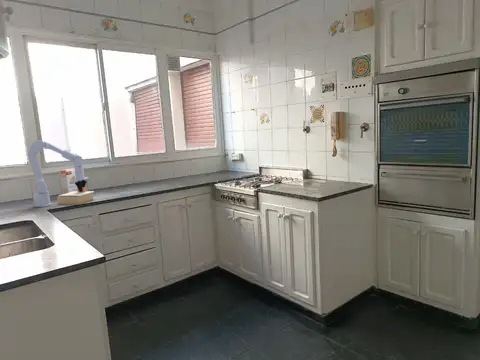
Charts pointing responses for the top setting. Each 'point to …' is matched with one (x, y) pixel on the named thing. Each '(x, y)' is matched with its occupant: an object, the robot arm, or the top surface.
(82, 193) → the lid
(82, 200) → the wooden drawer
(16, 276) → the top surface
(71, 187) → the cracker box
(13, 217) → the top surface
